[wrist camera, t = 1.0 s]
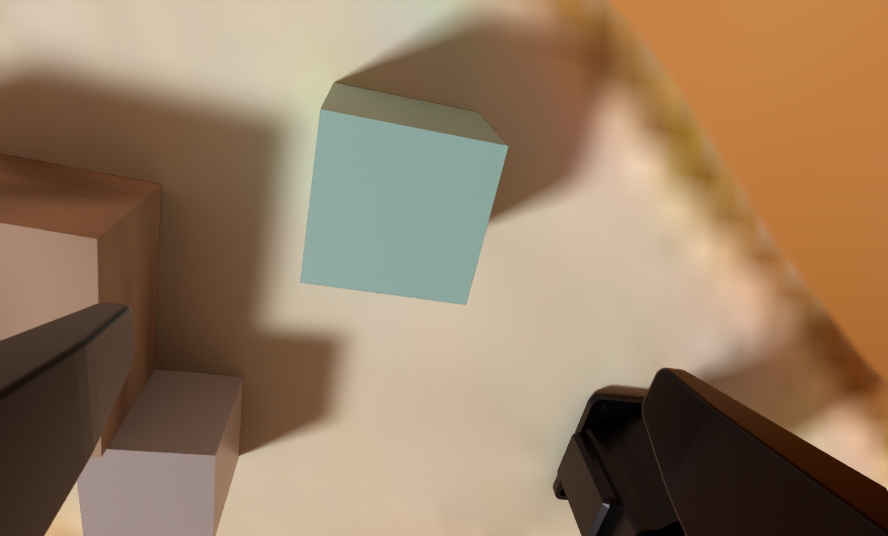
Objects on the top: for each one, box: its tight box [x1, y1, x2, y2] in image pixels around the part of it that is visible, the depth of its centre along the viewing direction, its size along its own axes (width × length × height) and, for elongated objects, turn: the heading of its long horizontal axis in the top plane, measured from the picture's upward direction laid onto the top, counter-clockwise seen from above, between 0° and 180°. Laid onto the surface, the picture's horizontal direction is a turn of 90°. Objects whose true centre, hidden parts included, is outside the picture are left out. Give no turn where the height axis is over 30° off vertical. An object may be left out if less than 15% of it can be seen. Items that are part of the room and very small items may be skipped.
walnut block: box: [0, 154, 161, 458], centre depth 18 cm, size 8×8×5 cm
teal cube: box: [300, 82, 509, 305], centre depth 17 cm, size 5×5×5 cm
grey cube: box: [77, 369, 243, 536], centre depth 21 cm, size 4×4×4 cm
